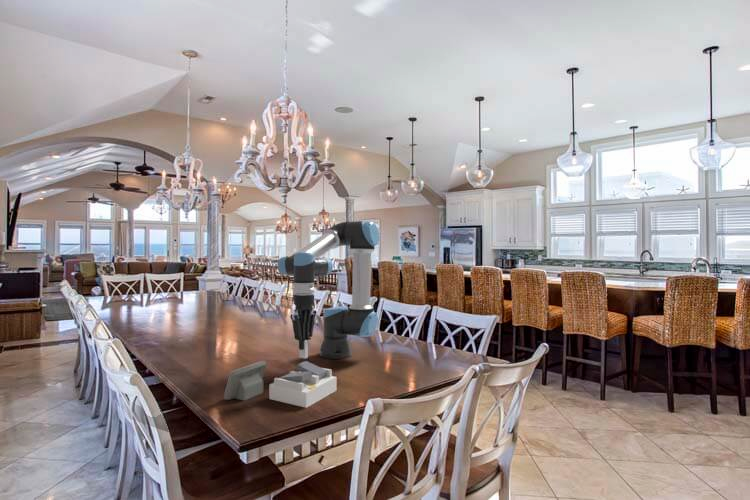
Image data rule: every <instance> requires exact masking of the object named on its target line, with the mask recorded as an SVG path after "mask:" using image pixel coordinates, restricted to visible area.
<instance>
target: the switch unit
mask: <svg viewBox="0 0 750 500" xmlns="http://www.w3.org/2000/svg"><path fill="white" fill-rule="evenodd" d="M322 368H323V369H325V370H327V375H326V376H325V377H323V378H321V379H319V376H317V375H312V377H311V378H309V379H307V380H305V381H303V382H295V381H290V380H285V379H280V377H275V378H274V379H273V382H272V383H270V384H268V385H269V386H268V387H269V390H268V391H269V392H268V395H269V397H268V398H269V399H268V400H271V401H272V400H273V401H276V402H281V403H285V404H290V405H293V406H297V407H302V408H306V409H307V408H308V407H310V406H312V405H314V404H316V403H317V402H319V401H320V400H322V399H324V398H326V397H328V396H330V395H331V394H332V393H335V392H337V385H338V384H337V383H338V380H337V379H338V378H337V377H338V376H334V375H333V371H332V369H331V368H324V367H322ZM298 372H300V371H297V370H295V371H294V370H291V371H289V373H298ZM289 373H288V374H289Z"/></svg>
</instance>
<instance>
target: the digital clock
mask: <svg viewBox="0 0 750 500" xmlns="http://www.w3.org/2000/svg"><path fill="white" fill-rule="evenodd" d="M266 368H267V362H266V360H261V361H257V362H253V363H251V364H248V365H246V366H243V367H239V368H237V369H234V370H232V371H230V373H229V376H228V380H227V383H226V387H225V390H224V395H223V399H224V400H225V401H229V400H232V399H233V400H234V399H236V400H239V401H244V402H245V401H247V400H249V399H252V398H255V397H257V396H259V395H261V394H263V393H264V379H263V378H264V374H265V371H266Z"/></svg>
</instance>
